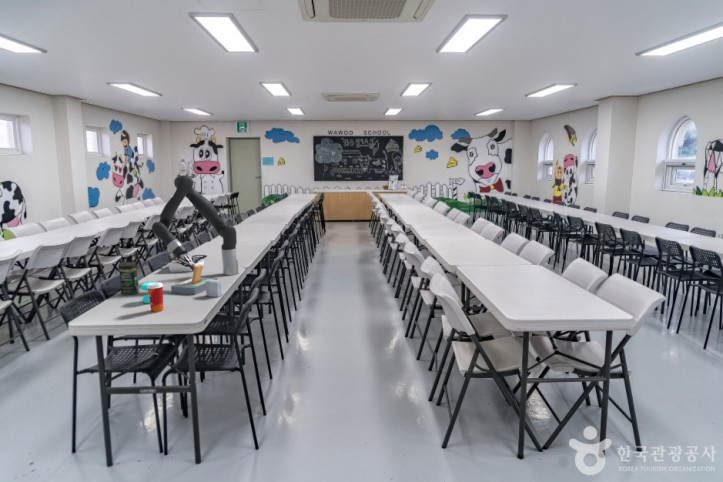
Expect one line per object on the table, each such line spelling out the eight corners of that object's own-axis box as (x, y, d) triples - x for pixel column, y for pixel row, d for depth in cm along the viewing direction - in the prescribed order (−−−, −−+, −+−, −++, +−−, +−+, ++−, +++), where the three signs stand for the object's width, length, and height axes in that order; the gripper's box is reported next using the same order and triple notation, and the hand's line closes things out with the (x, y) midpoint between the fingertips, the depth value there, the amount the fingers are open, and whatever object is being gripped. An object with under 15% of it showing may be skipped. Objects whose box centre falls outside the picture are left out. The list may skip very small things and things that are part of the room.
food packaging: (176, 255, 336) (207, 254, 336) (177, 265, 337) (208, 264, 338) (163, 262, 311) (196, 262, 312) (164, 273, 312) (197, 272, 313)
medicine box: (223, 295, 257) (221, 280, 256) (218, 297, 253) (217, 282, 252) (211, 294, 260) (210, 279, 259) (206, 296, 256) (205, 281, 254)
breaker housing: (171, 292, 264) (170, 285, 263) (195, 283, 284) (195, 276, 284) (194, 294, 259) (194, 287, 258) (217, 284, 280) (217, 278, 279)
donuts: (153, 280, 254) (164, 282, 248) (155, 297, 255) (166, 300, 250) (136, 284, 245) (148, 286, 240) (138, 302, 247) (149, 305, 242)
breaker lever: (190, 284, 269) (194, 265, 266) (196, 282, 274) (200, 264, 271) (193, 285, 269) (197, 267, 266) (199, 283, 273) (202, 265, 270)
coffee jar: (118, 295, 261) (114, 263, 258) (125, 291, 269) (122, 260, 265) (135, 295, 261) (132, 263, 257) (142, 291, 268) (138, 260, 265)
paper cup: (152, 308, 236) (149, 282, 233) (167, 307, 237) (165, 281, 234) (146, 313, 228) (143, 286, 226) (162, 312, 229) (159, 285, 226)
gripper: (172, 246, 263) (192, 268, 262) (187, 242, 276) (206, 263, 274) (166, 255, 266) (184, 277, 264) (181, 251, 278) (199, 271, 277)
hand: (195, 270), depth 269 cm, fingers closed
